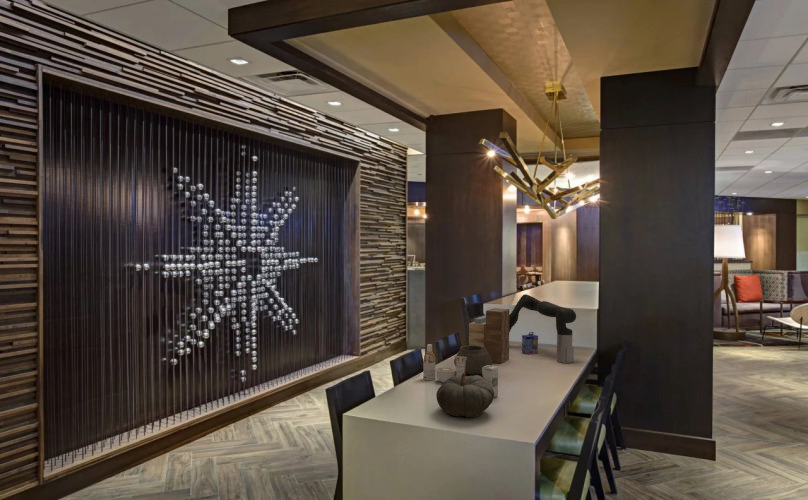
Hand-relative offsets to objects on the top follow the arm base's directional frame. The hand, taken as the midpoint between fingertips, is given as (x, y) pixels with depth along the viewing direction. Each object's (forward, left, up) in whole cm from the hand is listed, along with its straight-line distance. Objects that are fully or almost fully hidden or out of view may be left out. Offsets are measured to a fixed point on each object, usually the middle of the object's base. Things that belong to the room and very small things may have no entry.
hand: (488, 314), depth 366 cm
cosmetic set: (-49, +71, -26) cm, 90 cm away
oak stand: (-7, +12, -26) cm, 29 cm away
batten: (-4, +6, -4) cm, 8 cm away
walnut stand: (-24, +13, -26) cm, 37 cm away
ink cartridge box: (-17, -22, -26) cm, 38 cm away
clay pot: (-43, +48, -26) cm, 69 cm away
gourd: (-97, +96, -26) cm, 138 cm away
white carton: (-83, +70, -26) cm, 111 cm away
